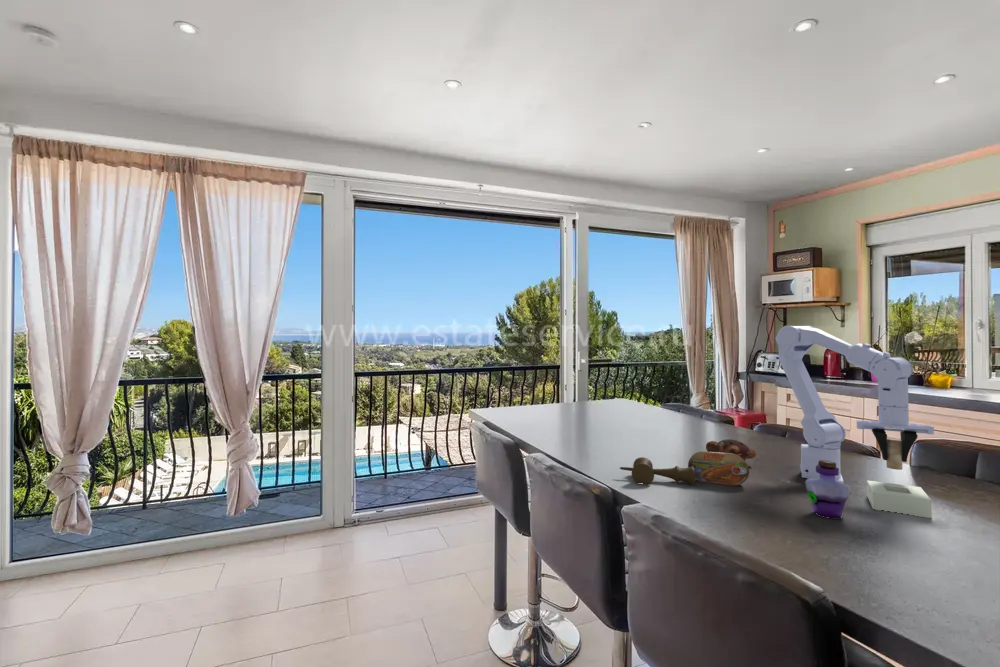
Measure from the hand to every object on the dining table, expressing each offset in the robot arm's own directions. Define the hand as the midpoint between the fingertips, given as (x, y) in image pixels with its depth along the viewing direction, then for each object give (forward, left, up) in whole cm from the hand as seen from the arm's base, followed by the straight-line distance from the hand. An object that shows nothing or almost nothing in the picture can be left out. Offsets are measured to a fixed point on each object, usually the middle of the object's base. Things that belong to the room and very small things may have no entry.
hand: (894, 460), depth 114 cm
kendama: (-54, -18, -9) cm, 57 cm away
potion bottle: (-15, -23, -9) cm, 29 cm away
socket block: (-1, -9, -9) cm, 13 cm away
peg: (0, 0, -2) cm, 2 cm away
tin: (-39, -11, -9) cm, 41 cm away
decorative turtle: (-38, +9, -9) cm, 40 cm away
